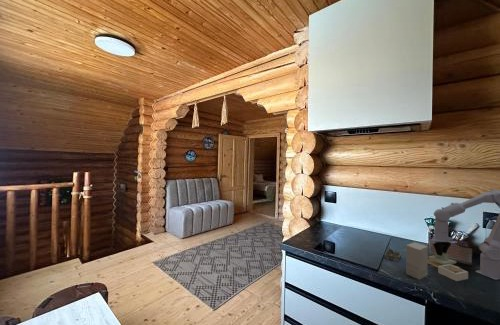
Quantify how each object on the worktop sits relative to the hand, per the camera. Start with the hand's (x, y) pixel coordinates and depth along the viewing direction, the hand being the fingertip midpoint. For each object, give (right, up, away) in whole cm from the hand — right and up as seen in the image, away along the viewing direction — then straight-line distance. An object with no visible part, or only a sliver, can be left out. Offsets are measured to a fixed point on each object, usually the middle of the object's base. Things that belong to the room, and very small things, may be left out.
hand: (441, 254), depth 119 cm
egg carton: (-21, -6, +9) cm, 24 cm away
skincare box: (-22, -6, -11) cm, 25 cm away
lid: (0, -3, 0) cm, 3 cm away
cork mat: (0, -6, 0) cm, 6 cm away
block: (-4, -6, -11) cm, 13 cm away
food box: (-4, -6, -11) cm, 14 cm away
